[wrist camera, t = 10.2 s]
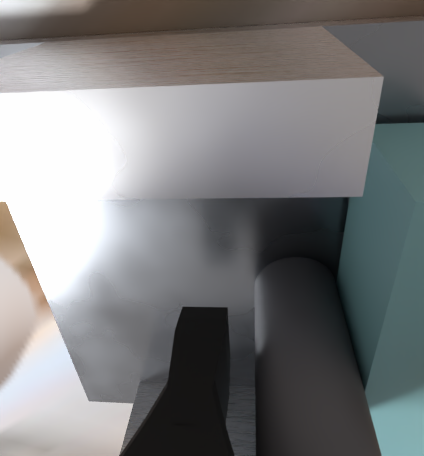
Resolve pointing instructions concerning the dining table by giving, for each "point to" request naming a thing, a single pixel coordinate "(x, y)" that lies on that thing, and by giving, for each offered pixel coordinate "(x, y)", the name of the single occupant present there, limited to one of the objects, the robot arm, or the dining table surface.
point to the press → (190, 178)
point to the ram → (350, 324)
